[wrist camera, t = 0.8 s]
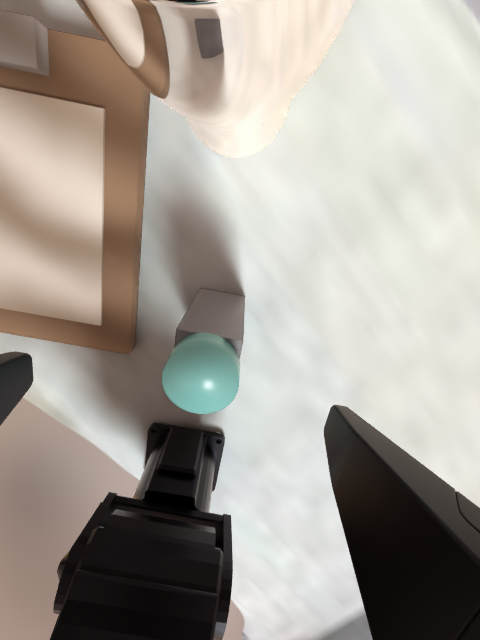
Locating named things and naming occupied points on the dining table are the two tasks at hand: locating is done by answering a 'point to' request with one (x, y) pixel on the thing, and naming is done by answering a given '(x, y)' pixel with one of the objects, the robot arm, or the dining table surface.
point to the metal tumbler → (222, 59)
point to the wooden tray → (69, 187)
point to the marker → (206, 353)
